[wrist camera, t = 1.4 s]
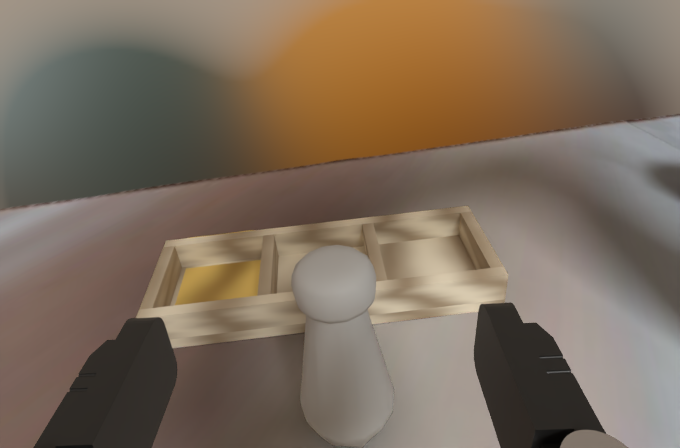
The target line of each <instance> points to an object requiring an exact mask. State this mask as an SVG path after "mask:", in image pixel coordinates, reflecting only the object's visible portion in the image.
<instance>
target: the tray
mask: <svg viewBox="0 0 680 448" xmlns="http://www.w3.org/2000/svg"><path fill="white" fill-rule="evenodd" d="M331 245H342V246H348V247H352V248H354V249H356V250H358V251H359V252H361V253H363V254H365V255H367V256H368V258H369V260H370V261H371V263H372V265H373V267H374V270H375V274H376V292H375V299H374V302H373V303H372V305H371V306H370V307H369V308H368V312H369V316H370V319H371V322H372V324H380V323H388V322H397V321H405V320H413V319H422V318H430V317H438V316H447V315H455V314H463V313H472V312H478V311H479V307H480V305H481V304H491V303H504V302H505V295H506V288H507V281H508V273H507V272H506V270H505V268H504V266H503V265H502V263H501V261H500V260H499V258H498V256H497V254H496V253H495V251H494V249H493V248H492V246H491V244H490V242H489V241H488V239H487V237H486V236H485V234H484V232H483V230H482V229H481V227H480V225H479V224H478V222H477V220H476V218H475V217H474V215H473V213H472V212H471V210H470V208H469V206H461V207H453V208H444V209H435V210H427V211H418V212H410V213H401V214H392V215H384V216H375V217H367V218H358V219H349V220H341V221H332V222H323V223H315V224H306V225H298V226H289V227H280V228H272V229H263V230H255V231H254V230H250V231H241V232H232V233H224V234H215V235H207V236H198V237H189V238H186V239H177V240H169V241H166V242H165V245H164V247H163V250H162V252H161V255H160V258H159V260H158V263H157V265H156V268H155V270H154V273H153V275H152V278H151V281H150V283H149V286H148V288H147V291H146V293H145V296H144V299H143V301H142V304H141V306H140V309H139V311H138V314H137V316H136V318H152V317H160V318H162V320H163V321H164V324H165V327H166V330H167V333H168V336H169V339H170V342H171V345H172V348H180V347H188V346H197V345H205V344H213V343H222V342H230V341H238V340H247V339H255V338H263V337H272V336H280V335H288V334H297V333H305V324H306V315H305V314H304V313H303V312H302V311H301V310H300V309H299V308H298V305H297V302H296V300H295V297H294V294H293V290H292V287H291V278H292V273H293V271H294V268H295V265H296V264H297V263H298V262H299V261H300V260H301V259H302V258H303V257H304V256H305V255H306V254H308V253H309V252H311V251H313V250H316V249H318V248H320V247H323V246H331Z"/></svg>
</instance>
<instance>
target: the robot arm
mask: <svg viewBox="0 0 680 448" xmlns="http://www.w3.org/2000/svg"><path fill="white" fill-rule="evenodd" d="M474 361H475V368H476V372H477V376H478V379H479V382H480V385H481V388H482V391H483V394H484V397H485V400H486V404H487V407H488V410H489V413H490V416H491V419H492V422H493V425H494V428H495V431H496V434H497V438H498V441H499V444H500V447H501V448H628V447H627V446H625V445H624V444H623V443H622V442H620V441H619V440H617V439H615V438H614V437H612V436H610V435H607V434H606V432H605V431H604V429H603V428H602V426H601V424H600V422H599V420H598V418H597V417H596V415H595V413H594V411H593V409H592V408H591V406H590V404H589V402H588V400H587V398H586V397H585V395H584V393H583V391H582V389H581V388H580V386H579V384H578V382H577V380H576V378H575V377H574V375H573V373H571V369H570V368H569V366H568V364H567V362H566V360H565V359H563V355H562V353H561V351H560V349H559V347H558V346H557V344H556V342H555V340H554V338H553V337H552V336H551V335H550V334H548V333H547V332H546V331H545V330H544V329H543V328H542V327H540V326H539V325H538V324H537V323H523V322H522V320H521V318H520V316H519V314H518V312H517V310H516V308H515V306H514V305H513V304H512V303H491V304H481V305H480V307H479V311H478V320H477V328H476V336H475V345H474ZM176 378H177V362H176V358H175V355H174V352H173V348H172V345H171V342H170V339H169V336H168V333H167V330H166V327H165V324H164V321H163V320H162V318H160V317H152V318H131V319H128V320H127V321H126V323H125V324H124V326H123V328H122V329H121V331H120V333H119V335H118V336H117V338H116V340H107V341H106V342H105V343H103V344H102V345H101V346H100V347H99V348H98V349H97V350H96V351H95V352H93V353H92V354H91V355H90V356H89V358H88V359H87V361H86V363H85V364H84V366H83V368H82V369H81V371H80V372H79V377H76V379H75V381H74V382H73V384H72V386H71V387H70V392H67V394H66V395H65V397H64V399H63V400H62V402H61V404H60V405H59V407H58V408H57V410H56V412H55V413H54V415H53V417H52V418H51V420H50V422H49V423H48V425H47V426H46V428H45V430H44V431H43V433H42V435H41V436H40V438H39V440H38V441H37V443H36V444H35V446H34V448H151V447H152V445H153V442H154V439H155V437H156V434H157V431H158V429H159V426H160V423H161V421H162V418H163V415H164V413H165V410H166V407H167V405H168V402H169V399H170V397H171V394H172V391H173V389H174V386H175V383H176Z"/></svg>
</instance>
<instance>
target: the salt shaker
mask: <svg viewBox="0 0 680 448" xmlns="http://www.w3.org/2000/svg"><path fill="white" fill-rule="evenodd" d="M291 287H292V290H293V294H294V297H295V300H296V302H297V305H298V308H299V309H300V310H301V311H302V312H303V313H304V314H305V315H306V324H305V338H304V352H303V365H302V379H301V393H300V403H301V406H302V409H303V413H304V416H305V419H306V421H307V423H308V424H309V425H310V426H311V427H312V428H313V429H314V430H315V431H316V432H317V433H318V434H319V435H320V436H321V437H322V438H323V439H324V440H326V441H327V442H328V443H330V444H331V445H334V446H345V447H356V448H362V447H363V446H364V445H365V444H366V443H367V442H368V441H369V440H370V439H371V438H372V437H374V436H375V435H376V434H377V433H378V432H380V431H381V430H382V429H383V427H384V425H385V424H386V422H387V421H388V419H389V417H390V416H391V414H392V412H393V402H394V387H393V384H392V382H391V379H390V376H389V373H388V370H387V367H386V364H385V361H384V358H383V355H382V352H381V349H380V346H379V343H378V340H377V337H376V334H375V331H374V328H373V325H372V322H371V319H370V316H369V312H368V308H369V307H370V306H371V305H372V303H373V302H374V299H375V292H376V274H375V270H374V267H373V265H372V263H371V261H370V260H369V258H368V256H367V255H365V254H363V253H361V252H359V251H358V250H356V249H354V248H352V247H348V246H342V245H331V246H323V247H320V248H318V249H316V250H313V251H311V252H309V253H308V254H306V255H305V256H304V257H303V258H302V259H301V260H300V261H299V262H298V263H297V264H296V265H295V268H294V271H293V273H292V278H291Z"/></svg>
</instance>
